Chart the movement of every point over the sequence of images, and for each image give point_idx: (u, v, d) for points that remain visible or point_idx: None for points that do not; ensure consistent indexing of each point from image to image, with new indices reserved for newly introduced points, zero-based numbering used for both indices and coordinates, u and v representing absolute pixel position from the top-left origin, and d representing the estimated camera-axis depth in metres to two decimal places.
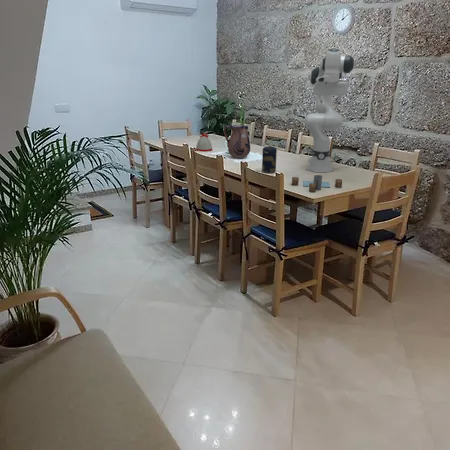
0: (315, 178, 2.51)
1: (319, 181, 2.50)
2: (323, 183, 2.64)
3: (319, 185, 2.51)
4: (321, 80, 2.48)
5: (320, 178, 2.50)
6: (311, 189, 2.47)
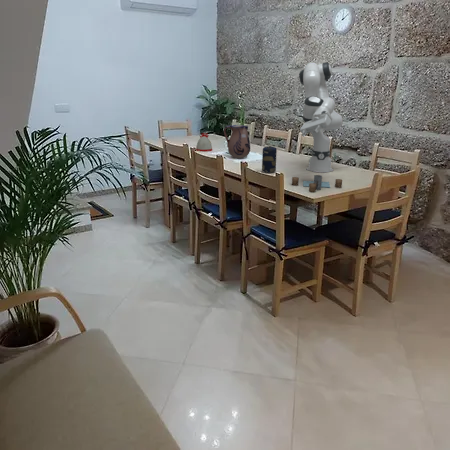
0: (315, 178, 2.51)
1: (319, 181, 2.50)
2: (323, 183, 2.64)
3: (319, 185, 2.51)
4: None
5: (320, 178, 2.50)
6: (311, 189, 2.47)
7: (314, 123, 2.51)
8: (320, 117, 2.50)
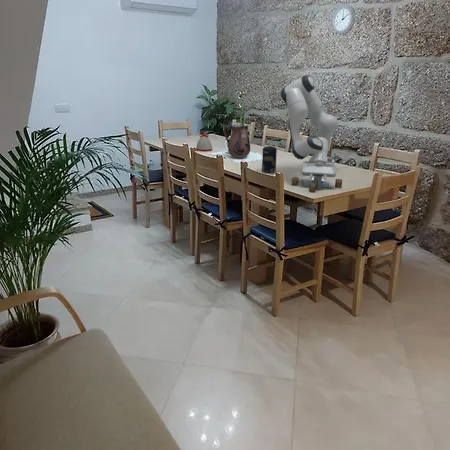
0: (315, 178, 2.51)
1: (319, 181, 2.50)
2: (323, 183, 2.64)
3: (319, 185, 2.51)
4: None
5: (320, 178, 2.50)
6: (311, 189, 2.47)
7: (321, 170, 2.53)
8: (326, 165, 2.53)
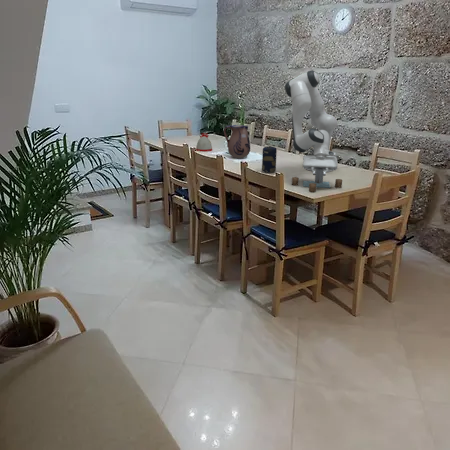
0: (317, 171, 2.49)
1: (321, 174, 2.49)
2: (323, 183, 2.64)
3: (321, 178, 2.50)
4: None
5: (322, 171, 2.49)
6: (311, 189, 2.47)
7: (322, 163, 2.51)
8: (327, 157, 2.52)
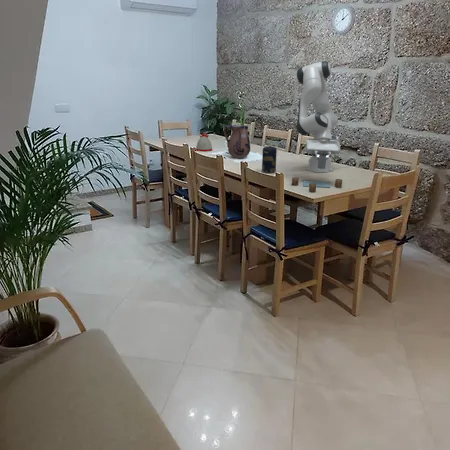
0: (320, 157, 2.55)
1: (324, 160, 2.55)
2: (323, 183, 2.64)
3: (323, 164, 2.56)
4: None
5: (325, 157, 2.54)
6: (311, 189, 2.47)
7: (325, 147, 2.57)
8: (330, 142, 2.58)
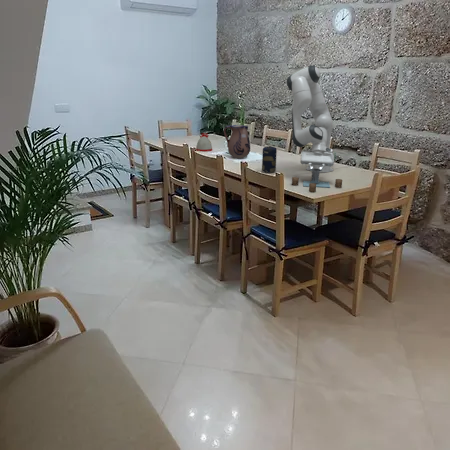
0: (313, 172, 2.59)
1: (316, 175, 2.59)
2: (323, 183, 2.64)
3: (316, 178, 2.60)
4: None
5: (317, 172, 2.59)
6: (311, 189, 2.47)
7: (319, 159, 2.61)
8: (324, 154, 2.61)
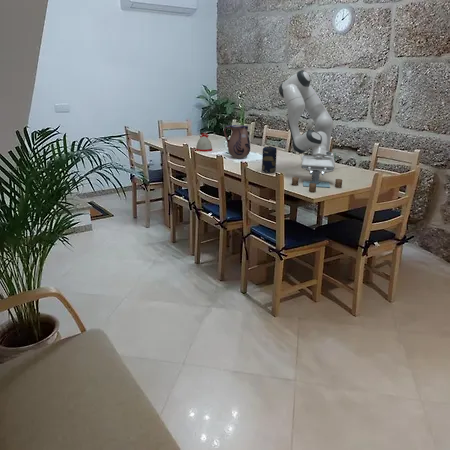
0: (313, 173, 2.60)
1: (317, 176, 2.60)
2: (323, 183, 2.64)
3: (317, 180, 2.61)
4: None
5: (318, 173, 2.59)
6: (311, 189, 2.47)
7: (320, 163, 2.61)
8: (325, 158, 2.62)
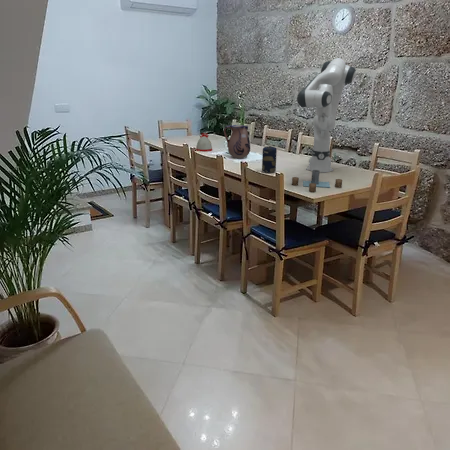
0: (313, 173, 2.60)
1: (316, 176, 2.60)
2: (323, 183, 2.64)
3: (316, 180, 2.61)
4: None
5: (317, 173, 2.59)
6: (311, 189, 2.47)
7: None
8: None
